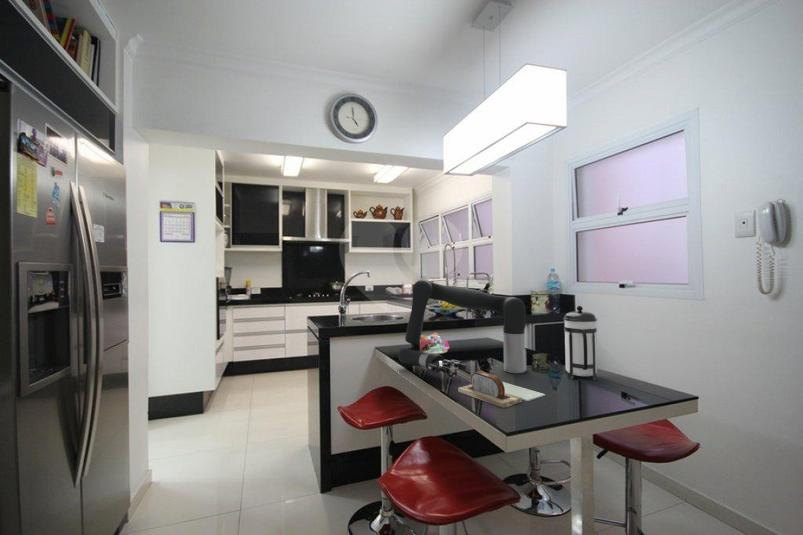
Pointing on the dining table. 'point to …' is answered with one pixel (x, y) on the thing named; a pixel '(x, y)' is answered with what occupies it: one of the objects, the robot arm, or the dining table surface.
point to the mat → (522, 392)
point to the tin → (488, 384)
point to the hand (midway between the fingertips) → (457, 369)
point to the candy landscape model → (433, 344)
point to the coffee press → (580, 344)
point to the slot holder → (504, 403)
